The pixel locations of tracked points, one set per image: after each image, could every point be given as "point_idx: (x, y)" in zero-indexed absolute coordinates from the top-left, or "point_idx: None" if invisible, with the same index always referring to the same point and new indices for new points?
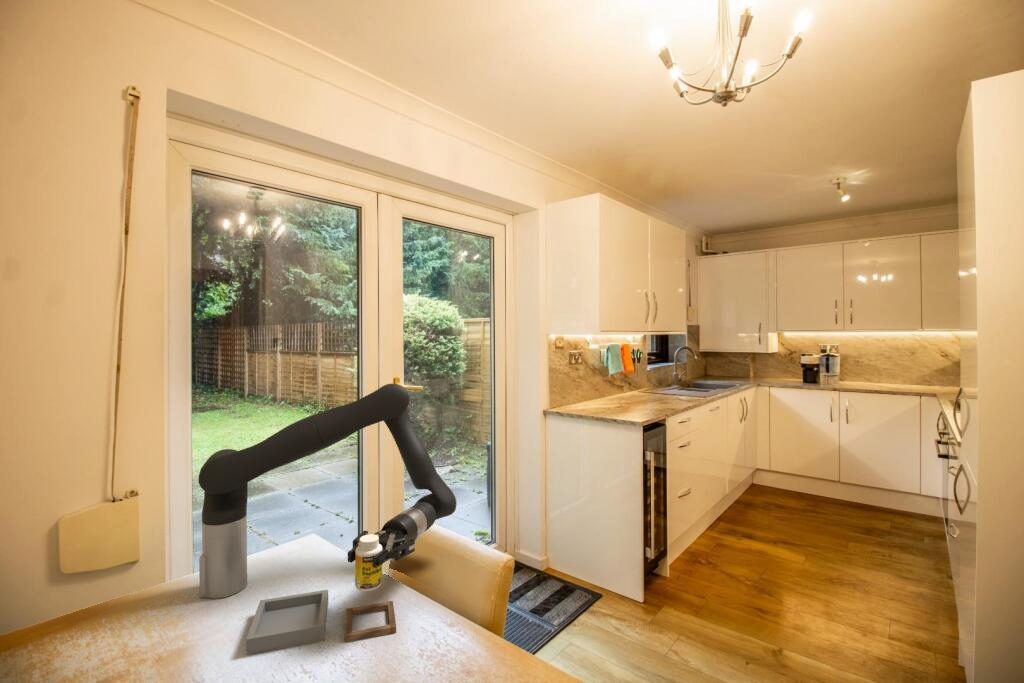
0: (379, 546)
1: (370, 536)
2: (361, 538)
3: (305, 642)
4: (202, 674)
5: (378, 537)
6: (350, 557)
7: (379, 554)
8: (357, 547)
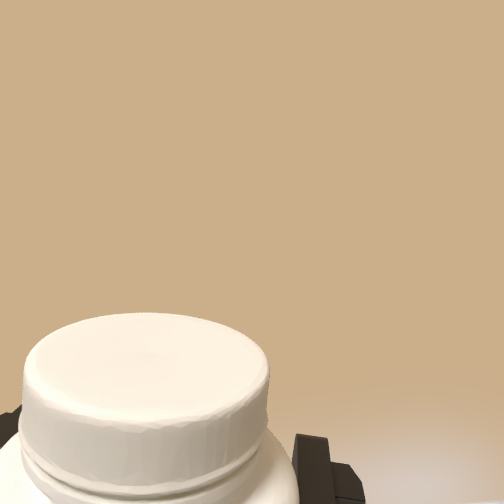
0: (9, 473)
1: (151, 372)
2: (240, 345)
3: None
4: (498, 501)
5: (26, 362)
6: (292, 461)
7: (5, 424)
8: (274, 441)
